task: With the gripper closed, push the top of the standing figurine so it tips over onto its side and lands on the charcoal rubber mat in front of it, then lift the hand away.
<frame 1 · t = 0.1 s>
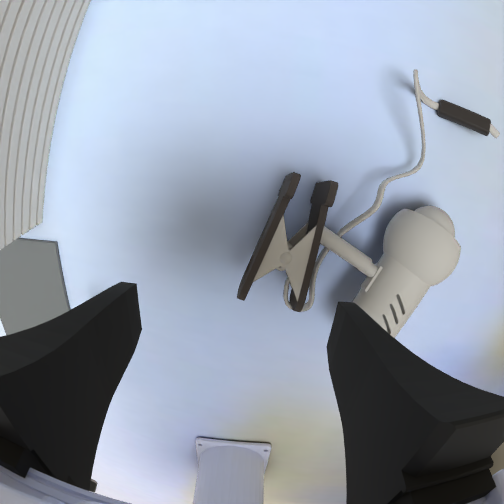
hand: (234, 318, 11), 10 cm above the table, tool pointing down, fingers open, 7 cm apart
clip-on lamp: (376, 194, 20), on the table
stack of papers: (37, 11, 14), on the table
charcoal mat: (35, 326, 25), on the table
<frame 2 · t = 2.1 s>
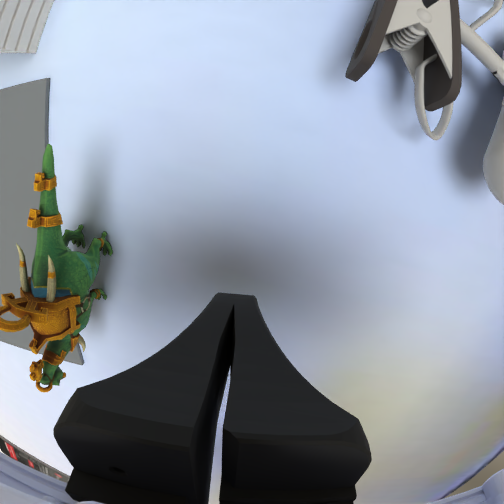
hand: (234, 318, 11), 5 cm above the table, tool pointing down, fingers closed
figurine: (94, 243, 16), on the table
clip-on lamp: (479, 24, 10), on the table
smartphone: (42, 465, 31), on the table
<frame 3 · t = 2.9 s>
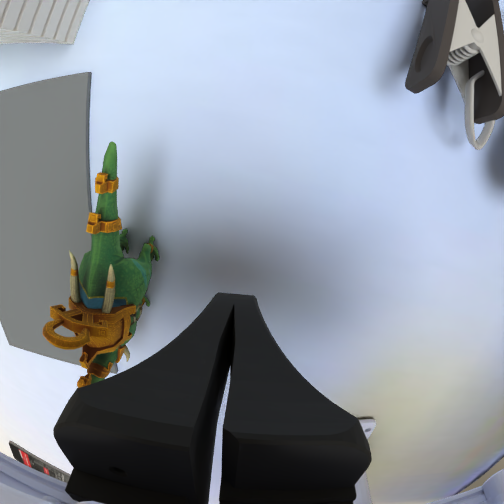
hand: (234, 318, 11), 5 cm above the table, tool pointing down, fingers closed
figurine: (138, 248, 16), on the table
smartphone: (57, 472, 31), on the table
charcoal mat: (27, 240, 16), on the table
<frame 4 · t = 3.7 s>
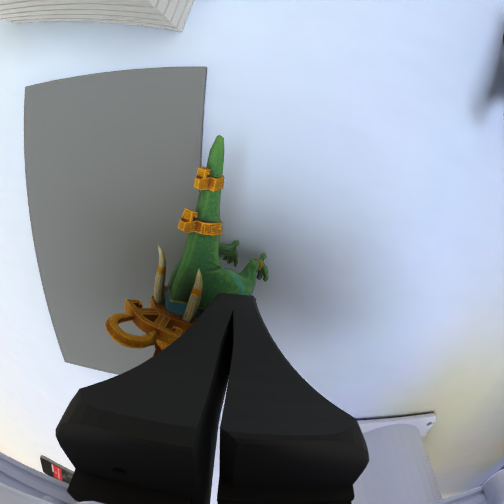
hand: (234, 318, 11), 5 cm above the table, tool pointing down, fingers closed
figurine: (248, 264, 16), on the table, touching gripper
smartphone: (92, 484, 31), on the table
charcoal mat: (107, 249, 16), on the table
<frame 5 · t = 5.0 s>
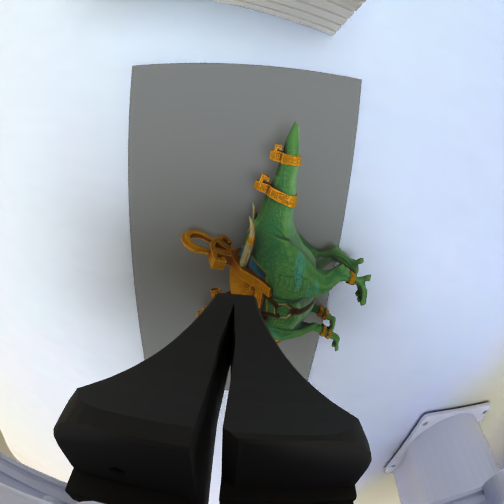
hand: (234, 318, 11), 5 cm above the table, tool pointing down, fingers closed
figurine: (363, 287, 14), point 2 cm above the table, touching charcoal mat
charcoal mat: (231, 258, 16), on the table
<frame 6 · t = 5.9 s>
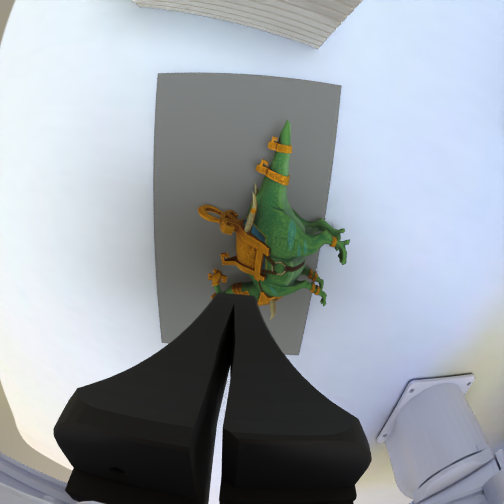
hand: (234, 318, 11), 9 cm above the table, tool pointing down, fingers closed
figurine: (345, 252, 18), point 2 cm above the table, touching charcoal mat
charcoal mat: (236, 230, 19), on the table
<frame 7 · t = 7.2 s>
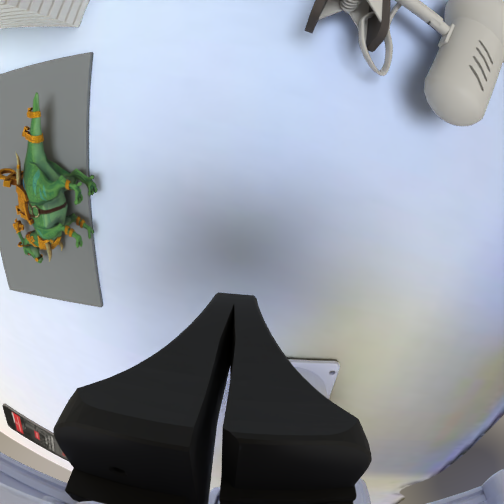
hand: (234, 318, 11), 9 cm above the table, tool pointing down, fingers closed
figurine: (90, 196, 17), point 2 cm above the table, touching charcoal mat
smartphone: (48, 436, 34), on the table
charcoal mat: (34, 187, 19), on the table
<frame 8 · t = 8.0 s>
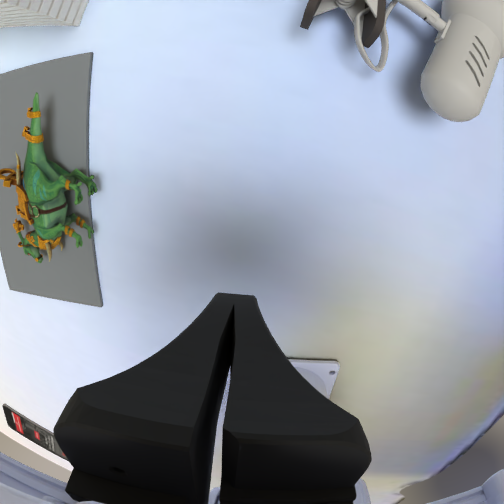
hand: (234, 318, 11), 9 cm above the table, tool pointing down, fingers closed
figurine: (90, 196, 17), point 2 cm above the table, touching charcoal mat
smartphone: (48, 436, 34), on the table
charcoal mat: (34, 187, 19), on the table
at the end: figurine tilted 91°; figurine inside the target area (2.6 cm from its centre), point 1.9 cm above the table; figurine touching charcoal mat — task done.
